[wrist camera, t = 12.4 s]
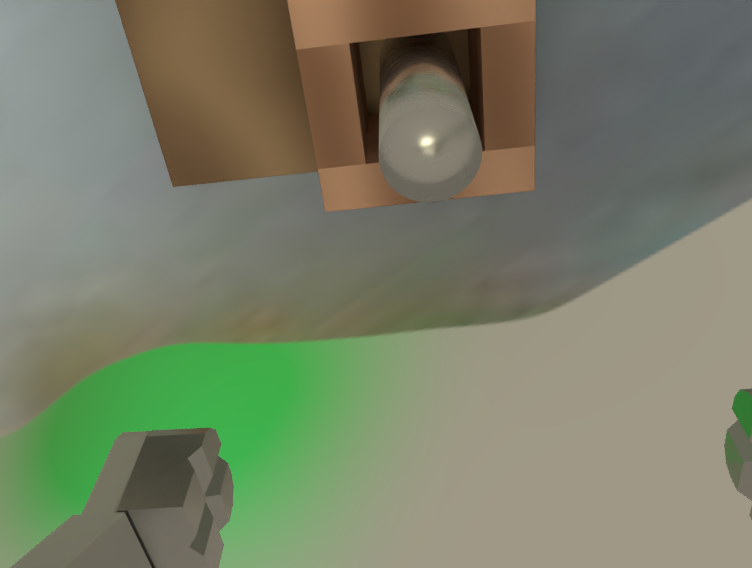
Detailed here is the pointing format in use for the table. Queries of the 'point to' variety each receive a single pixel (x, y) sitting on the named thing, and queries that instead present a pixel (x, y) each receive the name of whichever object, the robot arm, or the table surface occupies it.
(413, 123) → the metal pin
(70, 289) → the table surface
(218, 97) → the dock board
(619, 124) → the table surface
